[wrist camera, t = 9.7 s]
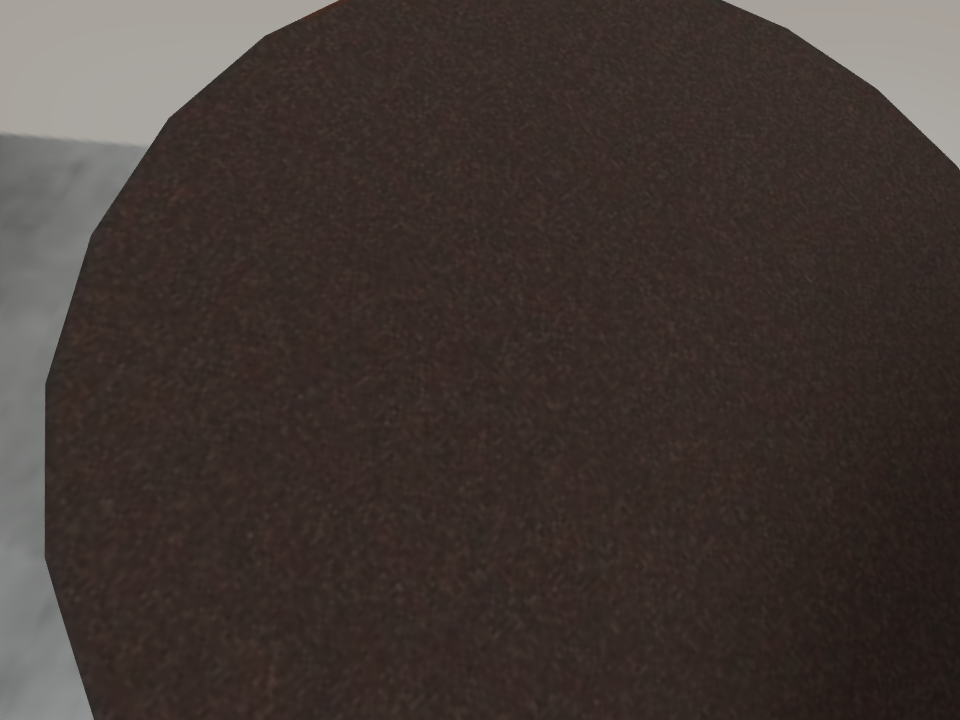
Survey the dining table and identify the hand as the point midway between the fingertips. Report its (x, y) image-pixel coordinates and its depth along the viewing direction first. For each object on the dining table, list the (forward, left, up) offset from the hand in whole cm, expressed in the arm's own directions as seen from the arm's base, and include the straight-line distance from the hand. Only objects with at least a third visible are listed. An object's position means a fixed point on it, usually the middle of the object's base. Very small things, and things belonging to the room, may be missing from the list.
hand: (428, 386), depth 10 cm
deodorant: (0, -2, -8) cm, 8 cm away
